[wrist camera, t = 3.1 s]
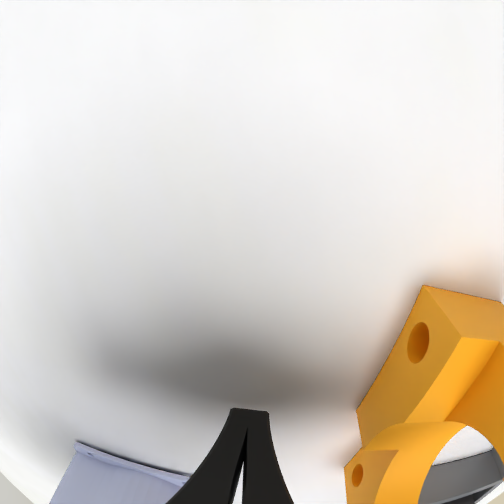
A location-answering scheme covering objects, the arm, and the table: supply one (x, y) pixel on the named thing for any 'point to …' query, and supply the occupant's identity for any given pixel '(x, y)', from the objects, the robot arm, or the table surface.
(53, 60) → the table surface
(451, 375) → the pipe clamp
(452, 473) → the grey piece
